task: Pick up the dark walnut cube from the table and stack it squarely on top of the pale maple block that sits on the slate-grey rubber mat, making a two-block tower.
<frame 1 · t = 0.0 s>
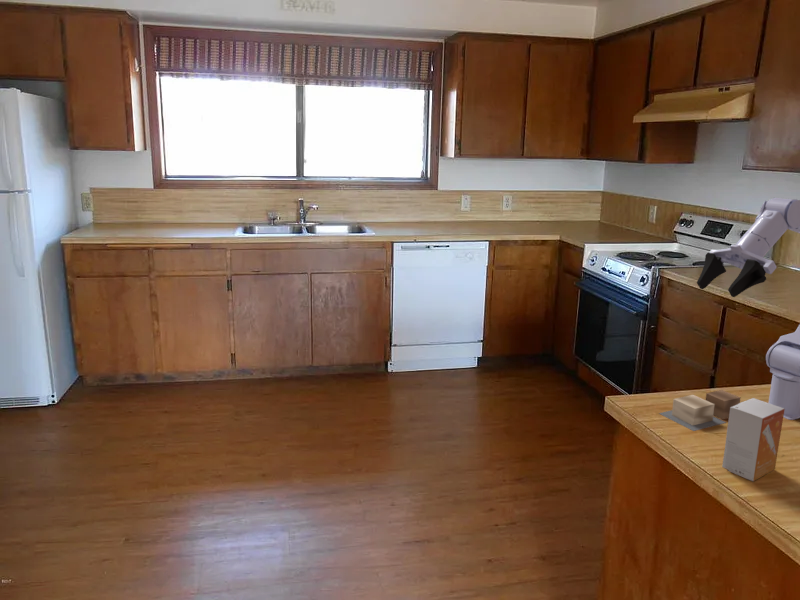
hand: (715, 289, 130), 32 cm above the counter, tool tilted 50°, fingers open, 7 cm apart
maple block: (692, 417, 145), resting on mat
walnut block: (720, 415, 147), on the counter
small box: (748, 470, 123), on the counter
mat: (691, 419, 145), on the counter
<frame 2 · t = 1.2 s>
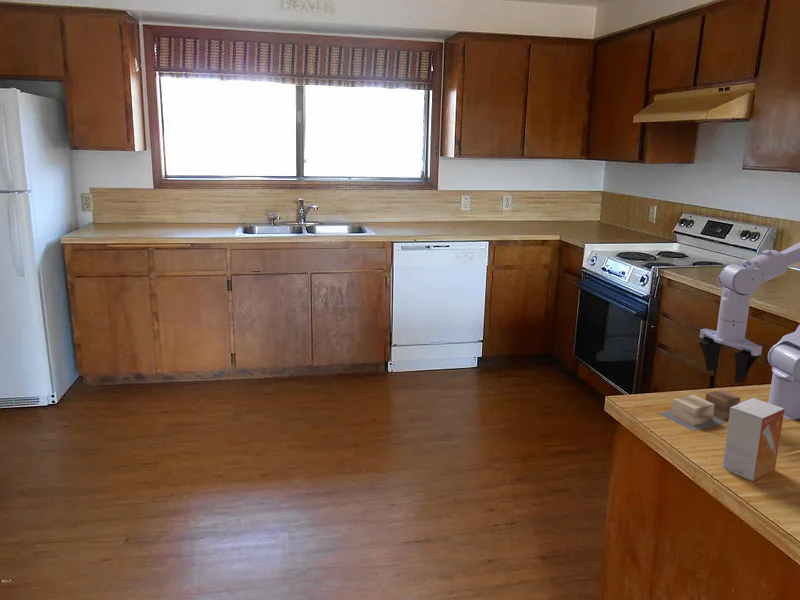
hand: (724, 376, 145), 10 cm above the counter, tool pointing down, fingers open, 7 cm apart
nothing on the counter moved.
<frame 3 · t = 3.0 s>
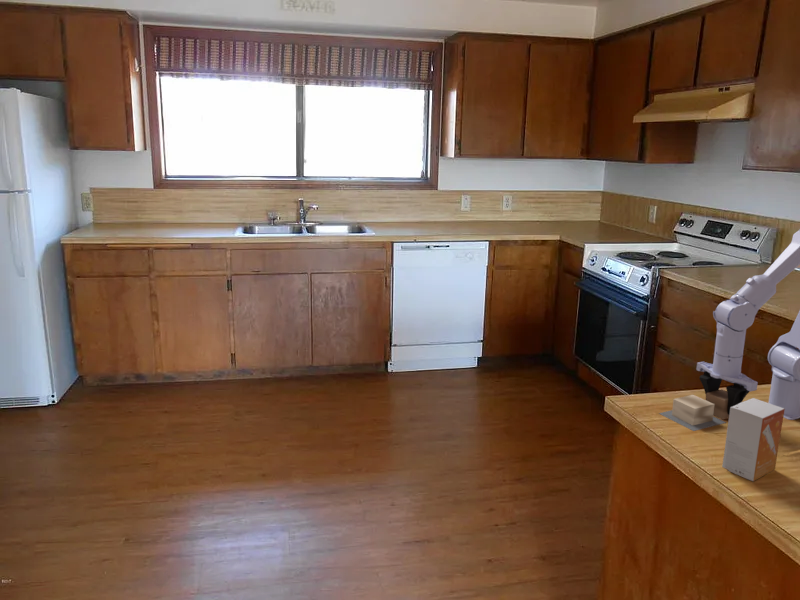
hand: (721, 409, 147), 1 cm above the counter, tool pointing down, fingers closed on walnut block, 5 cm apart
walnut block: (720, 415, 147), on the counter, touching gripper
everything else where it was.
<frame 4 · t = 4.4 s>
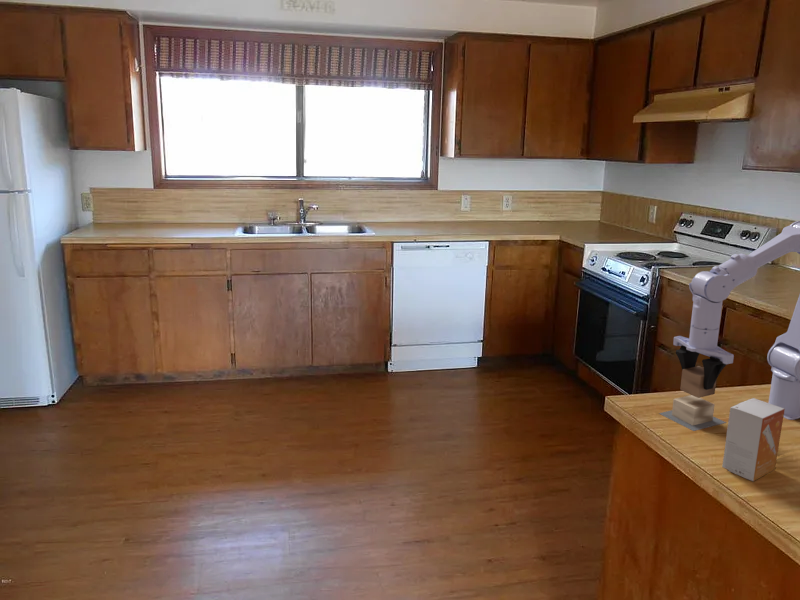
hand: (697, 384, 143), 9 cm above the counter, tool pointing down, fingers closed on walnut block, 5 cm apart
walnut block: (697, 392, 144), point 7 cm above the counter, touching gripper
everything else where it was.
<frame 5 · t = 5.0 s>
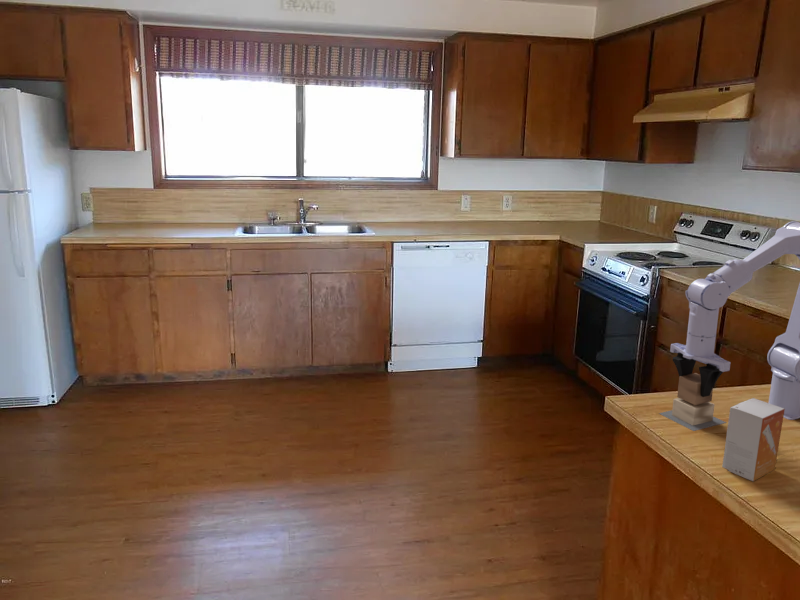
hand: (695, 391, 143), 7 cm above the counter, tool pointing down, fingers closed on walnut block, 5 cm apart
walnut block: (694, 399, 144), point 5 cm above the counter, touching gripper
everything else where it was.
when the fingers open (7 cm above the counter, at t = 5.7 s): walnut block stays where it is, resting on maple block.
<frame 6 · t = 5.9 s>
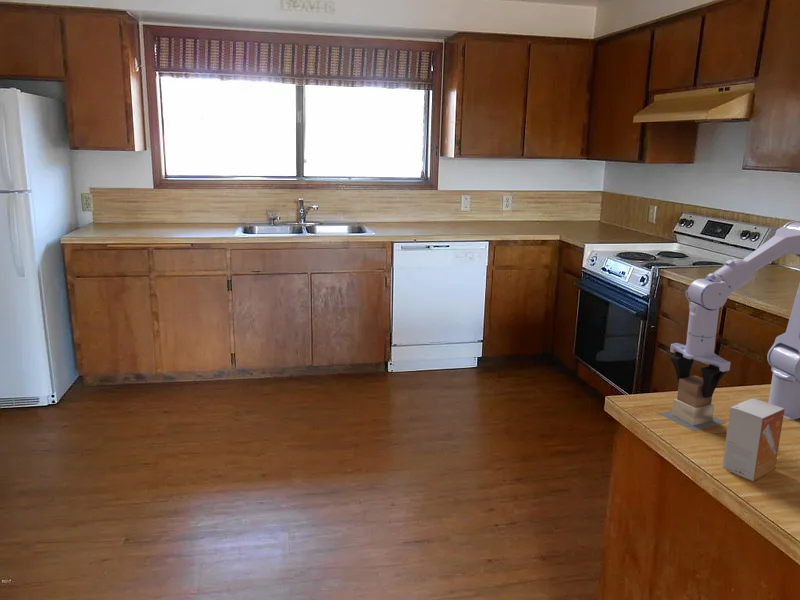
hand: (695, 391, 143), 7 cm above the counter, tool pointing down, fingers open, 6 cm apart
maple block: (692, 417, 145), resting on mat, touching walnut block
walnut block: (693, 401, 144), point 4 cm above the counter, touching maple block
everything else where it was.
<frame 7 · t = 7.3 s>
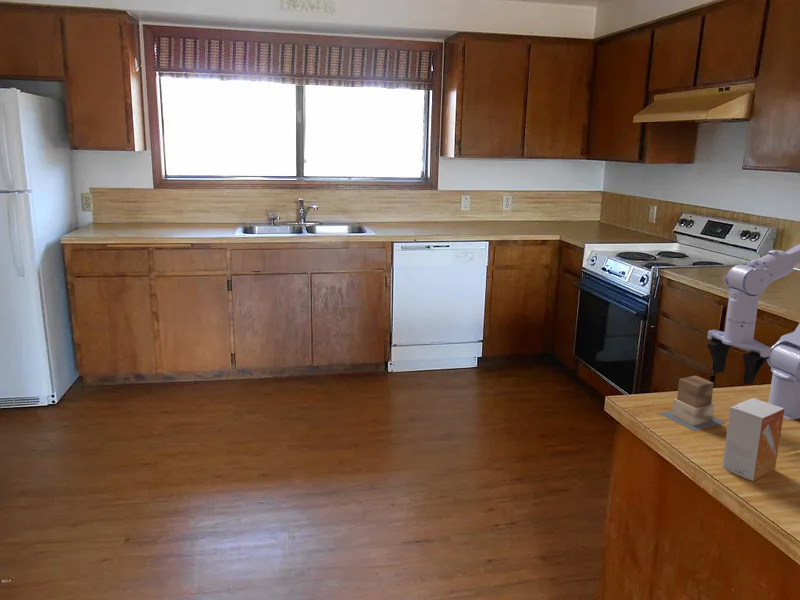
hand: (733, 377, 143), 10 cm above the counter, tool pointing down, fingers open, 7 cm apart
nothing on the counter moved.
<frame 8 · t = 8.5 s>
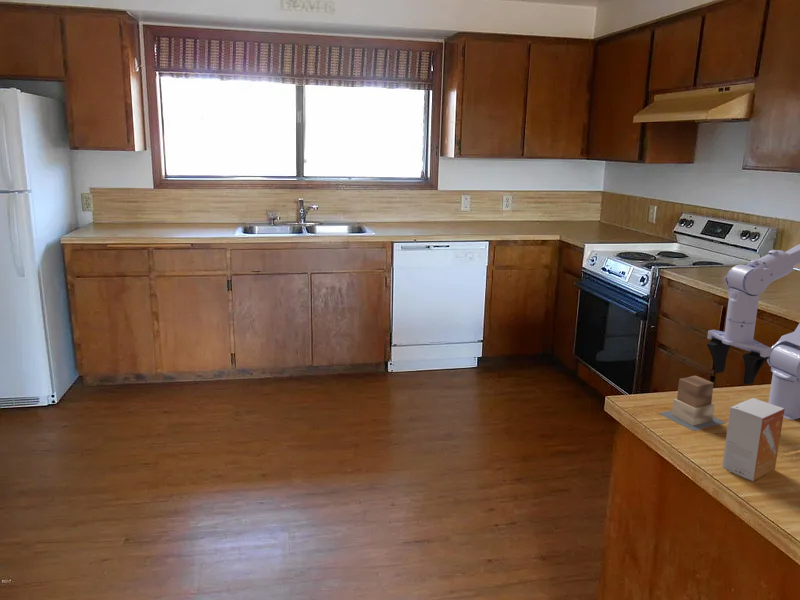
hand: (733, 377, 143), 10 cm above the counter, tool pointing down, fingers open, 7 cm apart
nothing on the counter moved.
at the end: walnut block 0.0 cm off-centre on the maple block, point 4.0 cm above the maple block's base; walnut block tilted 0°; the gripper is holding nothing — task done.
